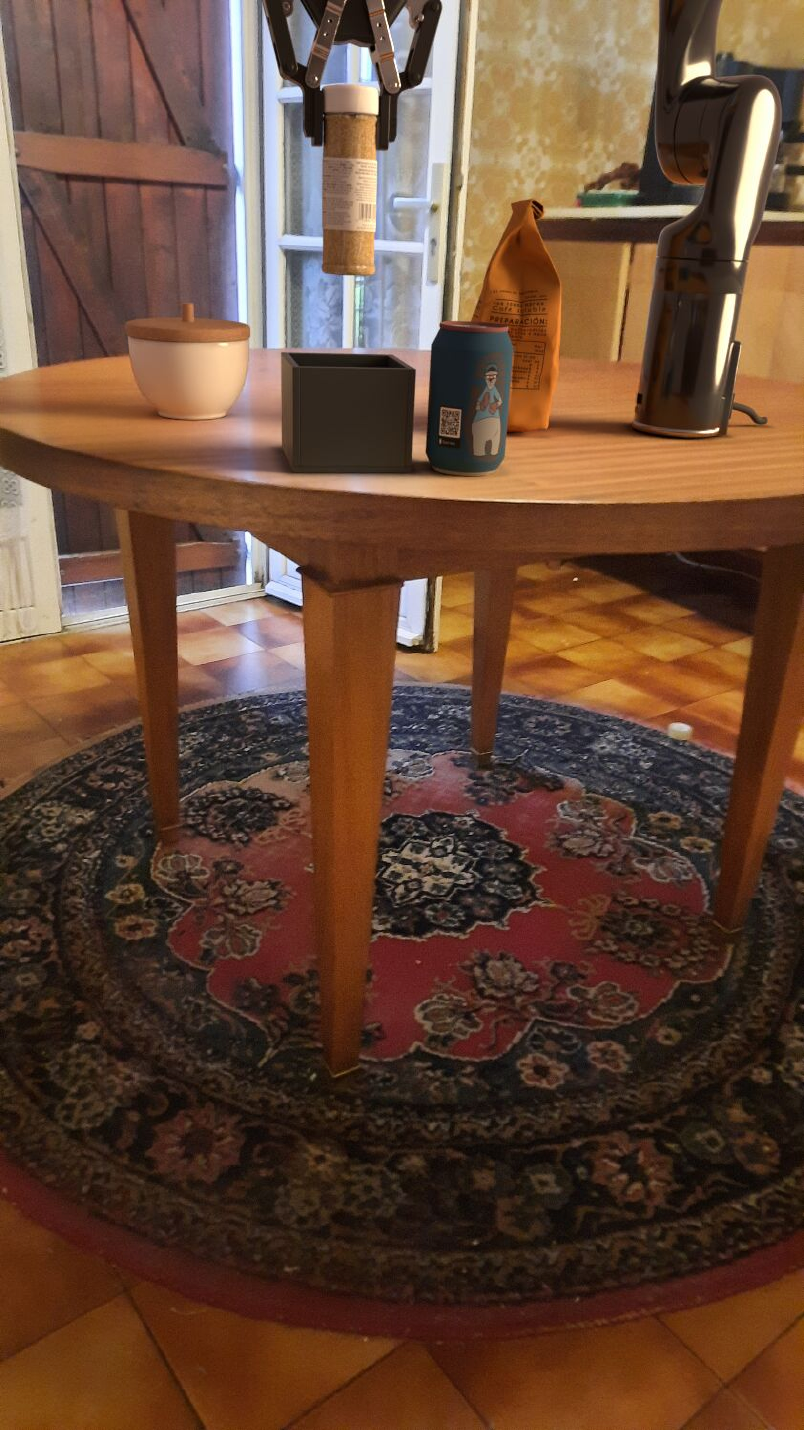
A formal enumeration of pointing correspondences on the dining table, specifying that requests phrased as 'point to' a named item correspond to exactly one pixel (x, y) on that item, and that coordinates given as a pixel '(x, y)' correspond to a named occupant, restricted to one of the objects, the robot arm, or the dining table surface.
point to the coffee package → (525, 315)
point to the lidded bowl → (189, 363)
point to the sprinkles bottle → (349, 178)
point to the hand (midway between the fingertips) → (350, 147)
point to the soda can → (469, 397)
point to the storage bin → (347, 412)
